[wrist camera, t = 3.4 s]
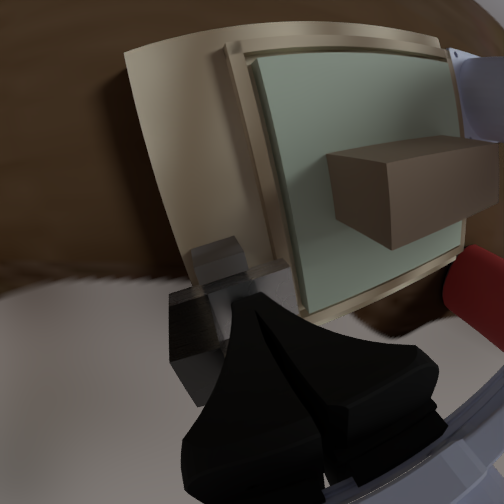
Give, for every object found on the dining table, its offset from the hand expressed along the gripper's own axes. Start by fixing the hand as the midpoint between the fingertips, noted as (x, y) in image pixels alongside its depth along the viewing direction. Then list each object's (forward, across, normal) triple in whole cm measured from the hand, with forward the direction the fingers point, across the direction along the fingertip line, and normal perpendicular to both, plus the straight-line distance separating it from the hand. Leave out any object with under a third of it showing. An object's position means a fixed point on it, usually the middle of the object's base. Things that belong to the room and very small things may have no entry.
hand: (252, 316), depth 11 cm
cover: (+3, -9, -4) cm, 10 cm away
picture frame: (+5, -7, -4) cm, 9 cm away
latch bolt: (+2, +1, 0) cm, 2 cm away
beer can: (+5, -20, +8) cm, 22 cm away
